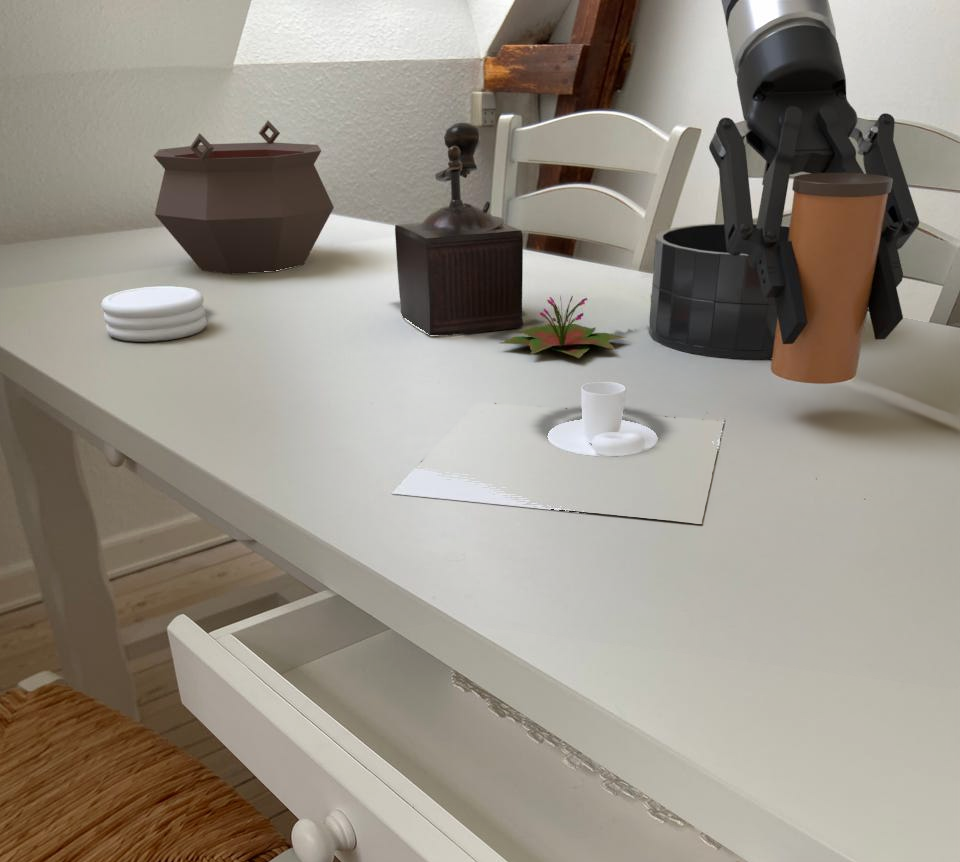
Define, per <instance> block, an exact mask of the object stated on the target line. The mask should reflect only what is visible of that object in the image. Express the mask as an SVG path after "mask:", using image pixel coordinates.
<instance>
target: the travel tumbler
mask: <svg viewBox="0 0 960 862" xmlns="http://www.w3.org/2000/svg"><path fill="white" fill-rule="evenodd" d="M892 182H893V179H892V178H890V177H887V176H882V175H875V174H866V173H864V174H863V173H813V174H811V173H804V174H799V175H796V176H794V177H793V180H792V191H793V198H792V206H791V213H790V220H789V225H790V227H789V235H788V241H791V242H792V246H793V251H794V256H795V261H796V266H797V271H798V276H799V281H800V286H801V291H802V296H803V301H804V306H805V311H806V316H807V321H808V323H807V325H806V326H805V328H804V329H803V330H802V332H801V333H800V335H799V336H798V337H797V339H796V340H795V342H794V343H793V344H783V342H782V337H781V331H780V326H779V321H778V318H777V326H776V333H775V341H774V348H773V356H772V359H771V364H770V371H771V373H772V374H773V375H775V376H777V377H779V378H782V379H784V380H787V381H792V382H797V383H804V384H815V385H817V384H819V385H820V384H823V385H825V384H826V385H827V384H838V383H839V384H840V383H843V382H849V381H851V380H853V379H854V378H855V377H856V376H857V372H858V368H859V360H860V356H861V349H862V344H863V340H864V339H863V338H864V333H865V328H866V327H865V326H866V322H867V317H868V316H867V315H868V312H869V308H868V305H869V299H870V294H871V288H872V282H873V277H874V271H875V265H876V260H877V254H878V248H879V243H880V237H881V231H882V226H883V220H884V214H885V209H886V203H887V197H888V193H890V192H891V188H892Z"/></svg>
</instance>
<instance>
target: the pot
mask: <svg viewBox="0 0 960 862" xmlns="http://www.w3.org/2000/svg"><path fill="white" fill-rule="evenodd" d="M753 226H754V228H756V226H757V222H756V223H754V222H753ZM789 227H790V224H782V225H781V231H780V237H779V239H778V241H777V242H778V246H779V244H780V243H781V241H788V235H789ZM653 254H654V255H653V265H652V266H653V268H652V280H651V281H652V283H651V294H650V305H649V307H650V308H649V321H648V322H649V323H648V325H649V326H648V334H649V336H650V337H651V339H653V340H654V341H655V342H656V343H658V344H660V345H663V346H665V347H668V348H671V349H674V350H677V351H681V352H685V353H688V354H693V355H694V354H695V355H700V356H706V357H713V358H723V359H724V358H726V359H735V360H736V359H737V360H772V356H773V348H774V341H775V333H776V326H777V318H778V316H777V311H776V305H775V300H774V297H772V298H765V296H764V295H763V293H762V291H761V286H760V281H759V280H760V279H759V275H758V270H757V269H754V268H752V267H751V266H750V265H749V263H748V260H749V258H750V255H747V254H743V253H741V254H740V255H738V256H733V255H731V254H729V253H728V251H727V249H726V239H725V228H724V222H721V223H720V222H719V223H702V224H690V225H684V226H677V227H672V228H669V229H665V230H662V231H660V232H658V233H657V234H656V235H655V241H654V252H653Z"/></svg>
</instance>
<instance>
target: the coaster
mask: <svg viewBox="0 0 960 862" xmlns="http://www.w3.org/2000/svg"><path fill="white" fill-rule="evenodd" d="M204 301H205V300H204V296H203V294H202V293H201V292H200V291H198V289H195V288H190V287H184V286H174V285H173V286H169V285H167V286H166V285H164V286H163V285H162V286H147V287H146V286H145V287H136V288H130V289H125V290H121V291H117V292H114V293H111V294H108V295H106V296H105V297H104V298H103V299H102V301H101V305H100V307H101V309H102V311H103V320H104V321H105V330H106V332H107V334H108V335H109V336H110V337H112V338H113V339H116V340H118V341H119V340H120V341H125V342H140V343H143V342H146V343H147V342H148V343H149V342H163V341H164V342H165V341H170V340H171V341H172V340H176V339H177V340H178V339H182V338H186V337H190V336H193V335H195V334H198V333H200V332H202V331H203V330H204V329H205V328H206V327H207V324H208V323H207V322H208V319H207V318H206V316H205V314H206V308H205V305H203V304H204Z"/></svg>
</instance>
